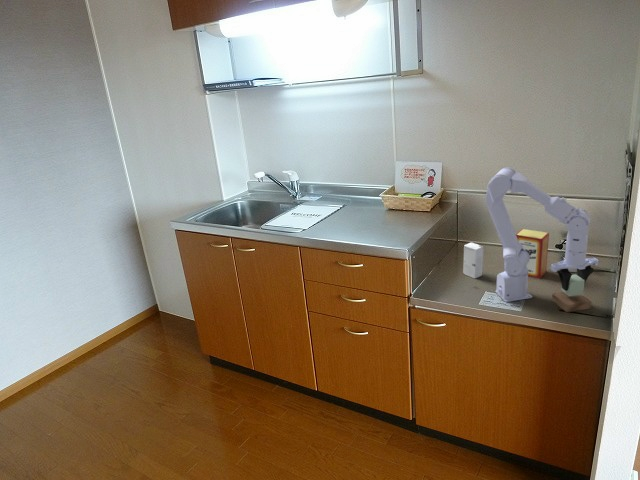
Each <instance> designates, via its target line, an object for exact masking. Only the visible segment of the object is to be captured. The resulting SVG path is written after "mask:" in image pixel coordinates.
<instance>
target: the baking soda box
mask: <svg viewBox="0 0 640 480" xmlns="http://www.w3.org/2000/svg"><path fill="white" fill-rule="evenodd" d="M515 234H516V236H517V239H518V242H519V243H521V244H522V245H523V248H524V249H525V250H526V251H527V252H528V254H529V256H530V260H529V262H528V263H527V265H526V267H527V269H528V277H531V278H535V279H541V278H542V277H543V276H544V275H545V274H546V273H547V267H548V266H547V265H548V254H549V253H548V251H549V241H550V232H545V231H540V230H531V229H526V228H522V229H521V230H519V231H518V232H516V233H515Z"/></svg>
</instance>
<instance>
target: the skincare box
mask: <svg viewBox="0 0 640 480" xmlns="http://www.w3.org/2000/svg"><path fill="white" fill-rule="evenodd" d="M483 261H484V246H483V245H480V244H477V243H474V242H469V243H466V244H464V246H463V267H462V270H463V271H462V274H464V275H465V276H468V277H470V278H472V279H477V278H479V277H481V276H482V275H483V265H484V262H483Z"/></svg>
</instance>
